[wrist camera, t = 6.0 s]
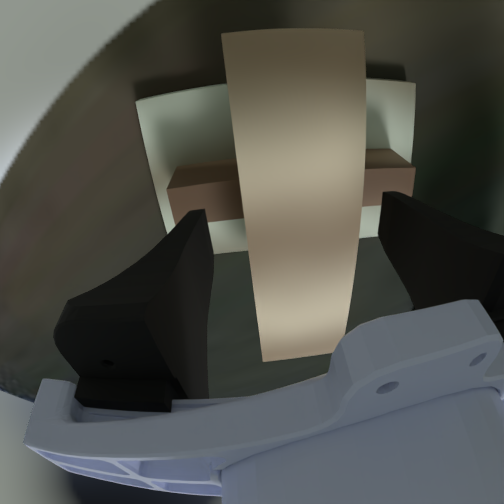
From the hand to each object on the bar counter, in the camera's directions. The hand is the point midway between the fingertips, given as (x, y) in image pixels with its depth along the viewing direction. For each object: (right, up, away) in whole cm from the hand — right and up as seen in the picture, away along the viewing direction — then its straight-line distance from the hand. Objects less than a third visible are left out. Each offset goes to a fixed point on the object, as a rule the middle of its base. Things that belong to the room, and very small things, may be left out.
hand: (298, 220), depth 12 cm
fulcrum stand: (0, +4, +5) cm, 6 cm away
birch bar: (0, +1, +2) cm, 2 cm away
